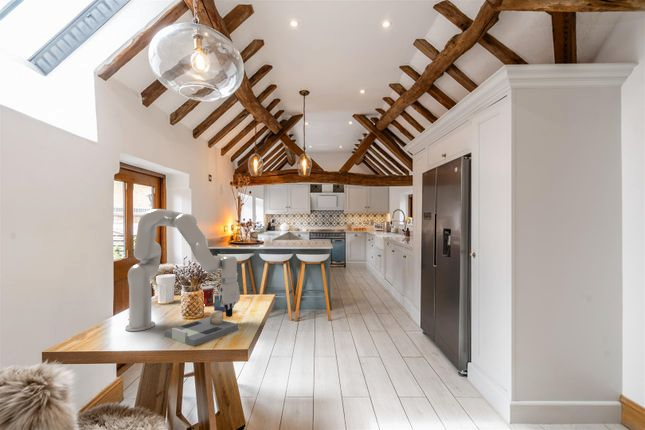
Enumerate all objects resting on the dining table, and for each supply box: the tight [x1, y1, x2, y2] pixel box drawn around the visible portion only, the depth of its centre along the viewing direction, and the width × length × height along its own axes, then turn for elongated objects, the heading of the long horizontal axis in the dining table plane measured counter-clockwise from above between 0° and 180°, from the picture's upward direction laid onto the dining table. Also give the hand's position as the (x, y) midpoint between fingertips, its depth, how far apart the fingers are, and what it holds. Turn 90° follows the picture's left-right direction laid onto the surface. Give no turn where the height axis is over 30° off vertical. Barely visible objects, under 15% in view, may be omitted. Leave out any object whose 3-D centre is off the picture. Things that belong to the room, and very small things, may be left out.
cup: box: [155, 273, 177, 305], centre depth 202 cm, size 11×11×17 cm
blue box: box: [213, 293, 226, 313], centre depth 183 cm, size 9×3×11 cm, turn 63°
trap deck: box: [163, 316, 239, 347], centre depth 147 cm, size 22×24×4 cm
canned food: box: [201, 285, 214, 307], centre depth 196 cm, size 8×8×11 cm
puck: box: [209, 310, 224, 325], centre depth 154 cm, size 6×6×5 cm
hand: (229, 316), depth 160 cm, fingers closed
